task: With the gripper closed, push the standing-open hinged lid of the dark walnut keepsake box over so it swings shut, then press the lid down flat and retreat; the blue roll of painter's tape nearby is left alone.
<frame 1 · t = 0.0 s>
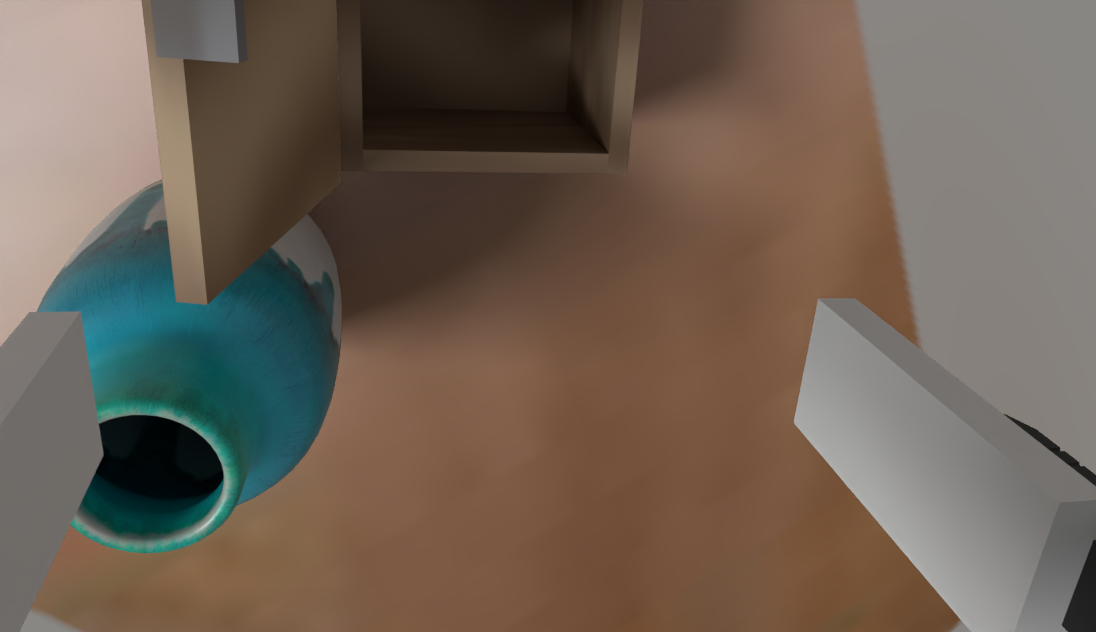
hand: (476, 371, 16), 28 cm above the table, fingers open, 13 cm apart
vase: (232, 252, 43), on the table
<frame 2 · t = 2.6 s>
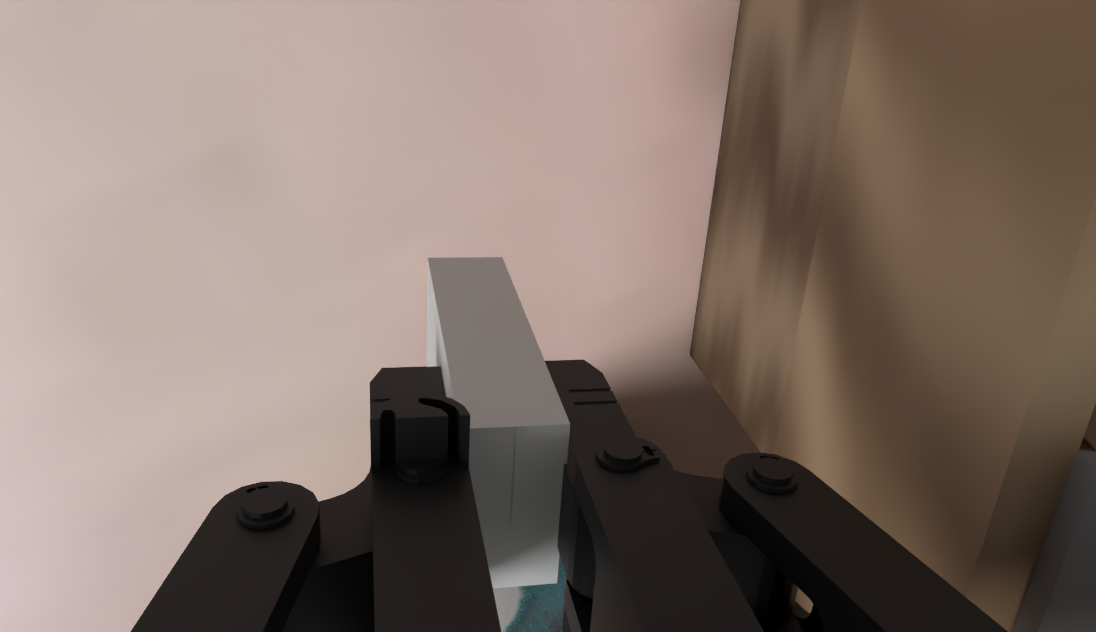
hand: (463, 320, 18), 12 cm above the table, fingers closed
vase: (537, 500, 36), on the table
lid: (940, 369, 17), point 15 cm above the table, hinge at 105.0°
box: (861, 164, 32), on the table
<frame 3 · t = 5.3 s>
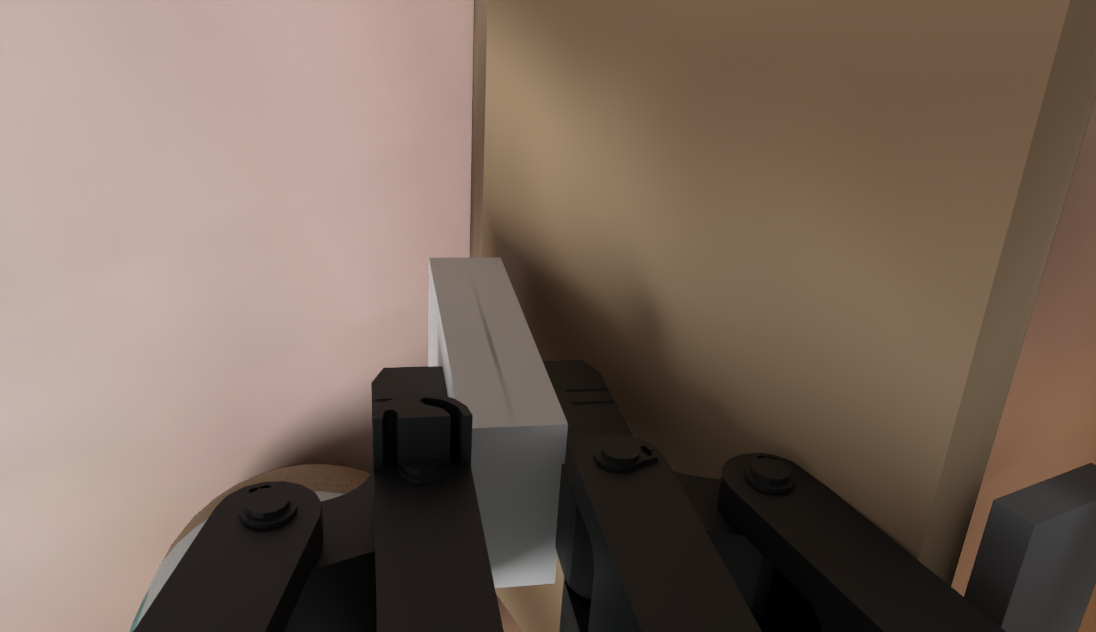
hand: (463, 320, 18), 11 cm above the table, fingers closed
vase: (317, 534, 33), on the table
lid: (696, 396, 15), point 15 cm above the table, hinge at 71.8°, touching gripper, hand
box: (637, 170, 30), on the table
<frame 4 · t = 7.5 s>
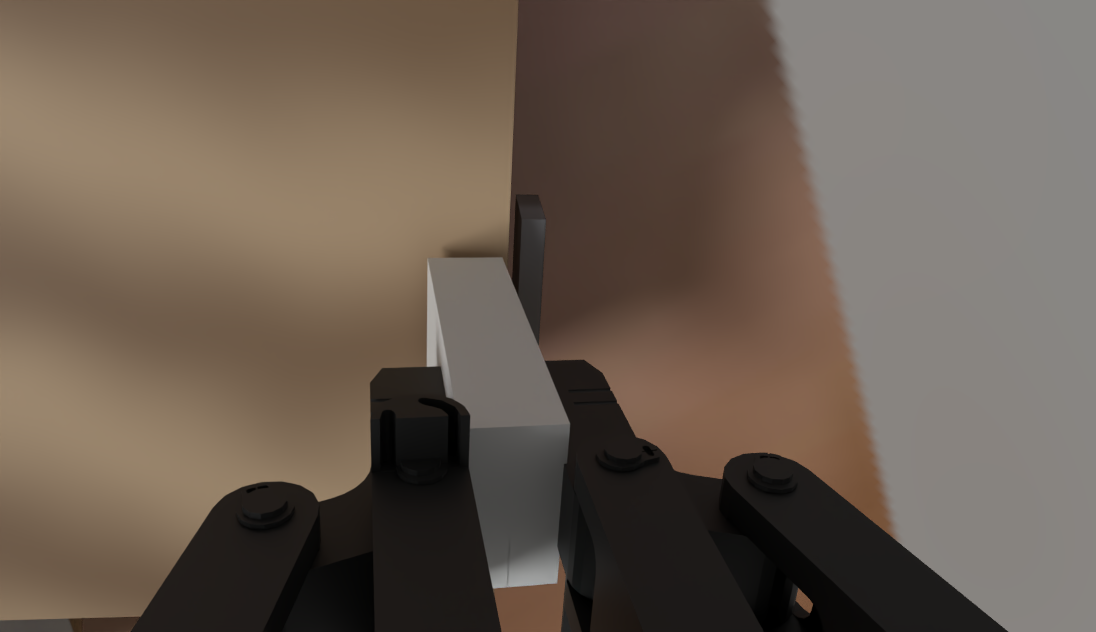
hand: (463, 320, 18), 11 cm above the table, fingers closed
lid: (245, 284, 19), point 9 cm above the table, hinge at 5.0°
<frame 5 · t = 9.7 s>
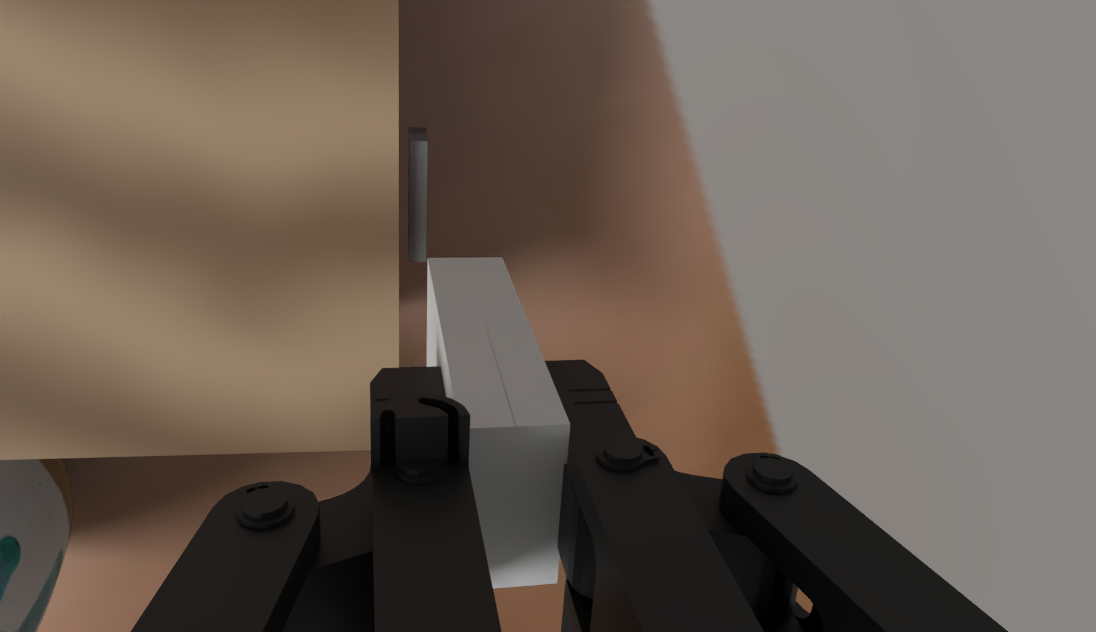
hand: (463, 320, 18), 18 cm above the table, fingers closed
lid: (201, 193, 25), point 9 cm above the table, hinge at 2.0°
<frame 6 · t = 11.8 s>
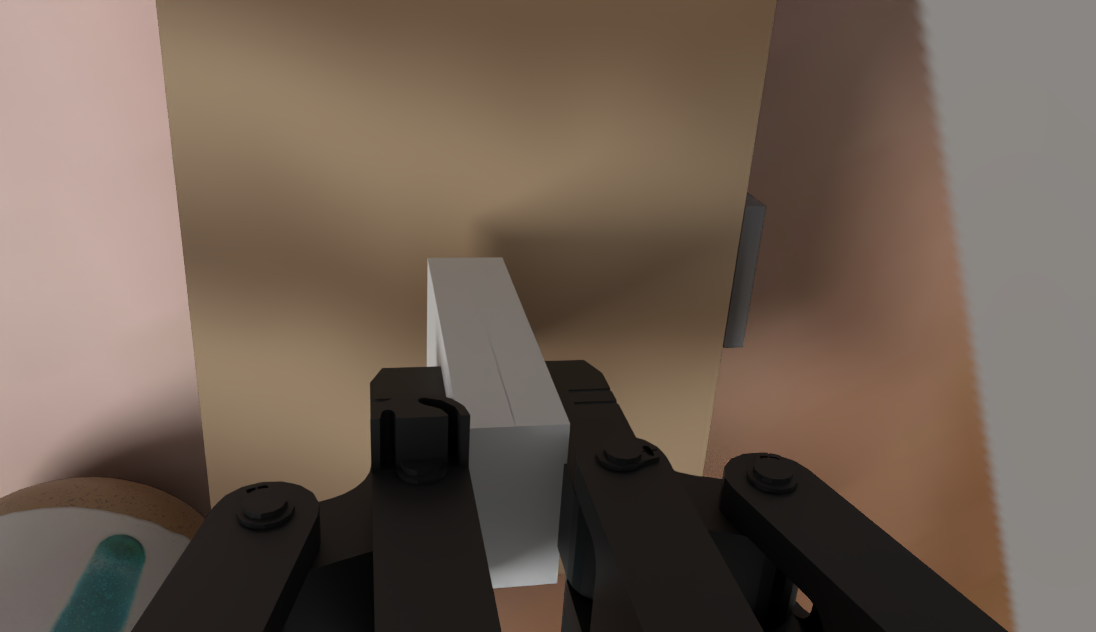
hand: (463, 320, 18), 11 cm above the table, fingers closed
vase: (113, 549, 32), on the table
lid: (487, 272, 21), point 9 cm above the table, hinge at -0.1°
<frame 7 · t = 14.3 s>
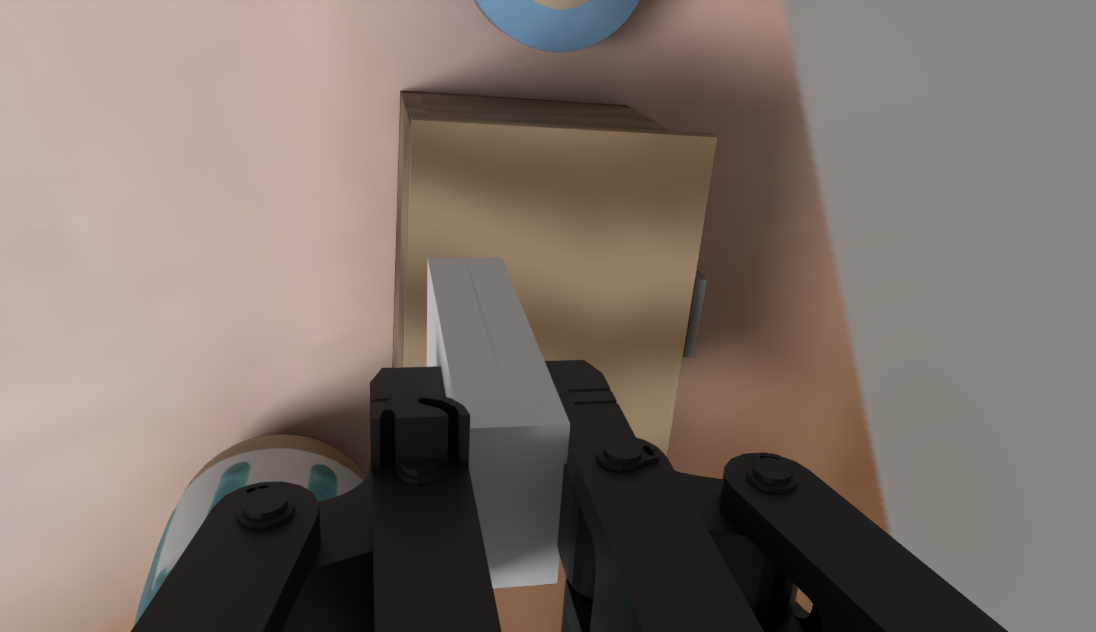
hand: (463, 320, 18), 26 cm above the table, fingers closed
vase: (285, 487, 48), on the table
lid: (555, 312, 38), point 9 cm above the table, hinge at -0.1°
box: (505, 248, 45), on the table
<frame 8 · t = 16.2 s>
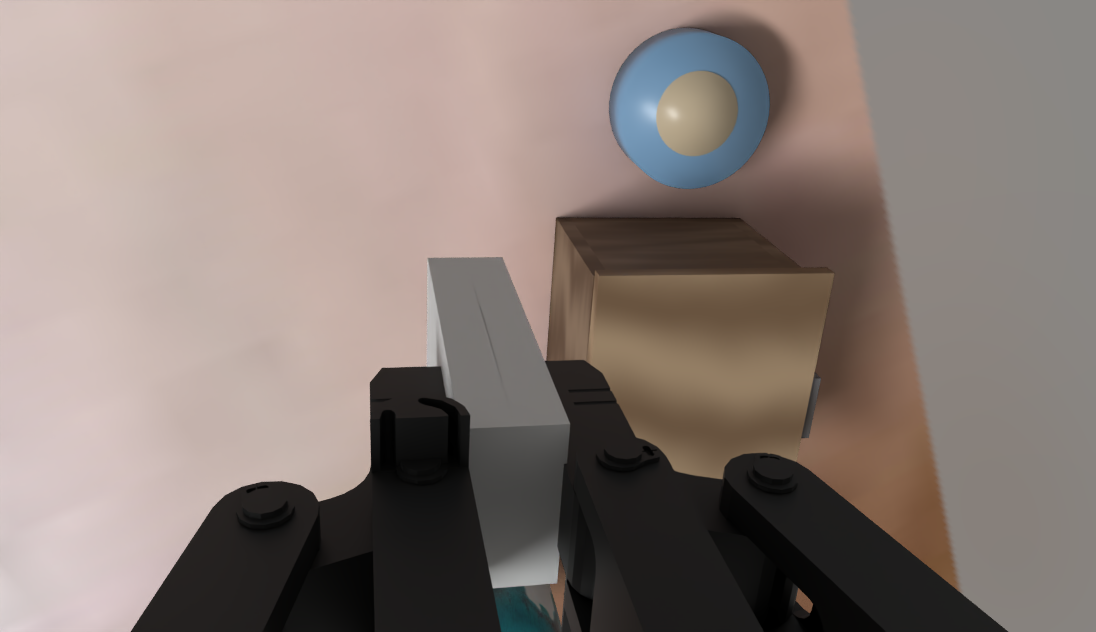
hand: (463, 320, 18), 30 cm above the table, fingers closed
vase: (450, 534, 58), on the table
lid: (698, 407, 46), point 9 cm above the table, hinge at -0.1°
box: (636, 336, 54), on the table
tape roll: (679, 103, 49), on the table
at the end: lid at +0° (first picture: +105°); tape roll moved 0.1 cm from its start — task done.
